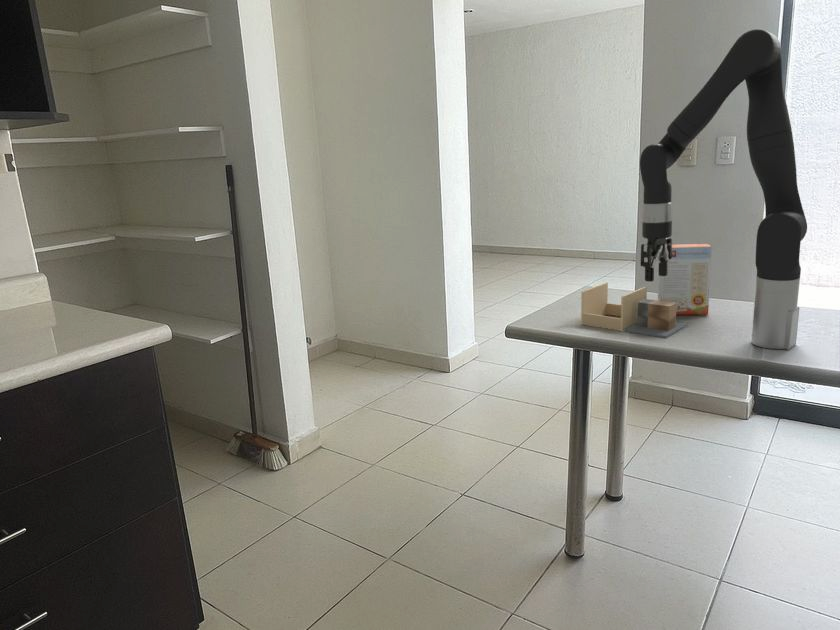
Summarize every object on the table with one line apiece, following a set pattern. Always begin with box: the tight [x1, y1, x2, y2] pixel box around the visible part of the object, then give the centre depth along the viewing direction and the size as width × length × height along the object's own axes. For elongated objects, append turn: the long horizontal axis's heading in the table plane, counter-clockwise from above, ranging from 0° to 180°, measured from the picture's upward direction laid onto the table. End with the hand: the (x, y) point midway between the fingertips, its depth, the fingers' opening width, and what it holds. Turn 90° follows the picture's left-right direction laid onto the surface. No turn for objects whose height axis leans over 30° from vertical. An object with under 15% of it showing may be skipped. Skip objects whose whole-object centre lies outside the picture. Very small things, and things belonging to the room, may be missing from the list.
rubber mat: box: [624, 321, 689, 339], centre depth 171 cm, size 12×14×1 cm
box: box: [637, 298, 677, 331], centre depth 170 cm, size 9×5×7 cm, turn 45°
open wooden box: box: [580, 281, 648, 332], centre depth 179 cm, size 13×15×10 cm
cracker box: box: [657, 243, 712, 316], centre depth 183 cm, size 14×6×21 cm, turn 74°
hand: (656, 278), depth 168 cm, fingers open, 8 cm apart
